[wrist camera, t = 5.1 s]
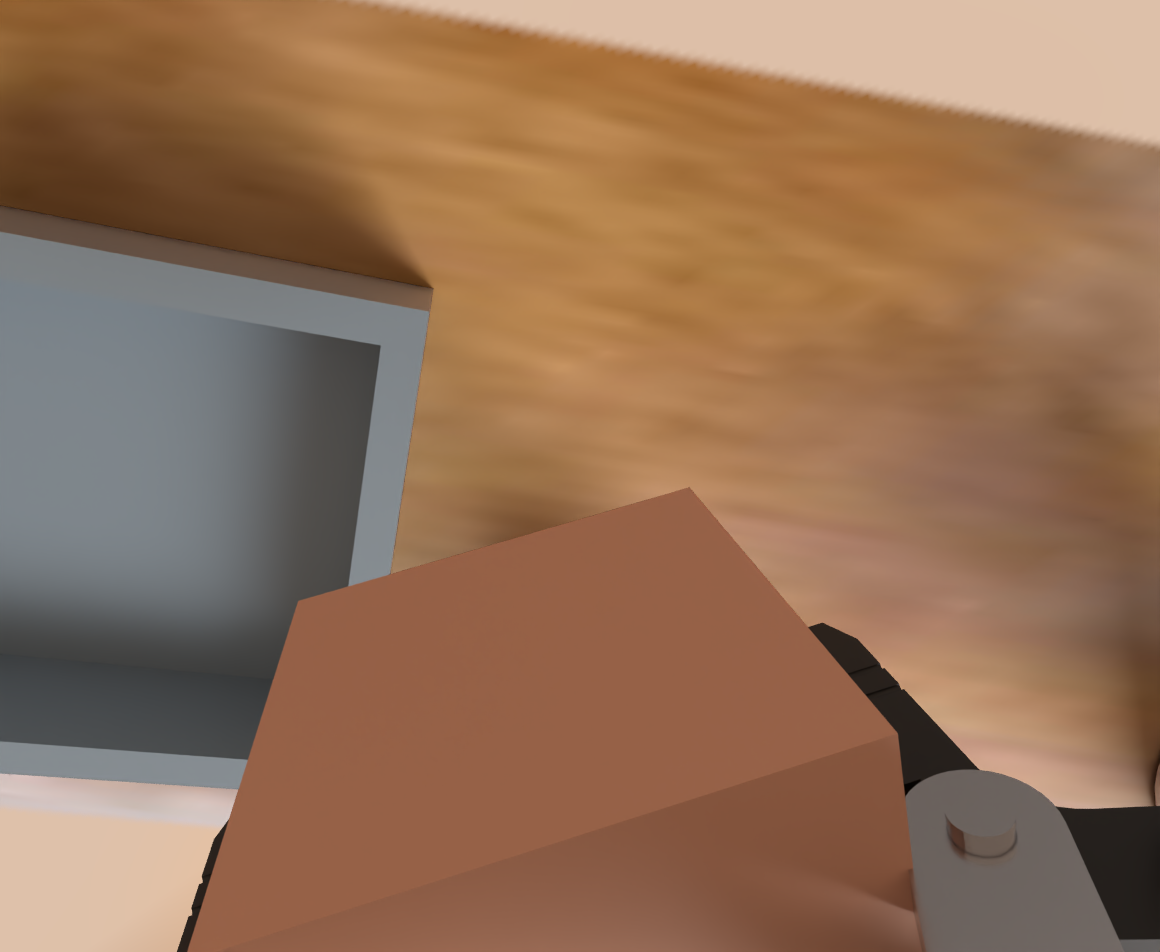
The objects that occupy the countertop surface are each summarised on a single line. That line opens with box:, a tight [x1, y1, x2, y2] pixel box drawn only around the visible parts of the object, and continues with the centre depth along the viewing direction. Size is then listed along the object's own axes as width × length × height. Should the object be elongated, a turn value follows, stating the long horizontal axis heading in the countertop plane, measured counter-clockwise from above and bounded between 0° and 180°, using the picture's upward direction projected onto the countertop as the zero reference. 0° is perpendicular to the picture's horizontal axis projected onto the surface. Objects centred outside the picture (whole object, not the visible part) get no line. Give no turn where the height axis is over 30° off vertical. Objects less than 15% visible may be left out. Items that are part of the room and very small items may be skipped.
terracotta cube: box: [187, 487, 922, 952], centre depth 9 cm, size 5×5×5 cm
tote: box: [0, 206, 433, 789], centre depth 22 cm, size 18×14×5 cm
